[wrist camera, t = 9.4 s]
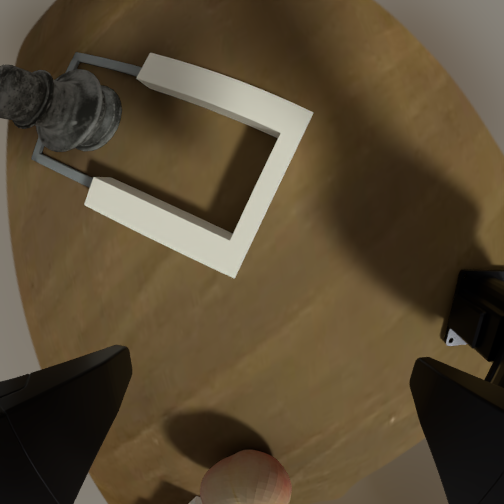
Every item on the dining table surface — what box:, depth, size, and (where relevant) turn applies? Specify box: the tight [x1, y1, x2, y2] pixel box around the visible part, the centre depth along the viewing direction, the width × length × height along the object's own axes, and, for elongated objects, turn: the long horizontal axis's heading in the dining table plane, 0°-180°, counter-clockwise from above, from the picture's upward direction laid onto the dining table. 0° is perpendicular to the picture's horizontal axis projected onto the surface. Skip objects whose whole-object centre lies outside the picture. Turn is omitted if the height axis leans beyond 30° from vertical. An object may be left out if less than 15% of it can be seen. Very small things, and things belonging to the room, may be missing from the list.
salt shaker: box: [0, 65, 122, 152], centre depth 14 cm, size 6×6×12 cm
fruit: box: [200, 450, 292, 504], centre depth 22 cm, size 8×8×8 cm
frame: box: [32, 52, 142, 188], centre depth 20 cm, size 8×10×1 cm
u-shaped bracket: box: [84, 53, 313, 279], centre depth 19 cm, size 11×11×2 cm
